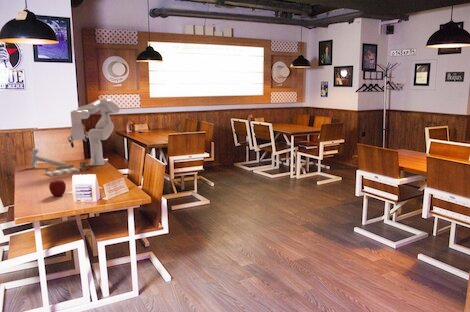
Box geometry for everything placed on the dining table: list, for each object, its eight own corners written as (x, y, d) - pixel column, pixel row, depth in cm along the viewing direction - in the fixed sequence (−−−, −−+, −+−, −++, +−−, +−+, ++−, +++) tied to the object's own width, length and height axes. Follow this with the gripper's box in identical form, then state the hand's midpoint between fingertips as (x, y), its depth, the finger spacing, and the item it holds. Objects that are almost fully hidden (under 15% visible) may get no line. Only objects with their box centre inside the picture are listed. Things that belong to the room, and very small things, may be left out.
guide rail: (73, 167, 321) (72, 164, 321) (73, 167, 320) (73, 165, 320) (45, 171, 306) (45, 169, 305) (46, 171, 305) (45, 169, 305)
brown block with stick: (85, 168, 326) (84, 161, 325) (90, 170, 319) (90, 163, 318) (80, 169, 323) (79, 162, 322) (86, 170, 316) (85, 163, 315)
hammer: (67, 156, 331) (34, 148, 333) (65, 157, 326) (31, 148, 328) (65, 173, 334) (32, 165, 336) (62, 174, 329) (29, 166, 331)
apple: (64, 192, 249) (62, 177, 248) (68, 195, 242) (67, 180, 240) (48, 195, 243) (46, 180, 242) (52, 198, 236) (51, 182, 234)
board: (73, 169, 322) (72, 167, 321) (79, 171, 314) (79, 169, 313) (45, 173, 306) (45, 171, 306) (51, 176, 298) (51, 173, 298)
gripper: (85, 124, 323) (87, 144, 327) (64, 126, 313) (66, 147, 316) (89, 125, 318) (91, 145, 321) (67, 127, 307) (69, 148, 310)
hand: (78, 146), depth 318 cm, fingers open, 9 cm apart
